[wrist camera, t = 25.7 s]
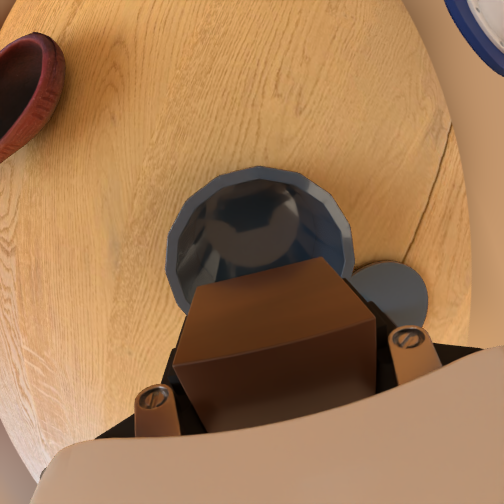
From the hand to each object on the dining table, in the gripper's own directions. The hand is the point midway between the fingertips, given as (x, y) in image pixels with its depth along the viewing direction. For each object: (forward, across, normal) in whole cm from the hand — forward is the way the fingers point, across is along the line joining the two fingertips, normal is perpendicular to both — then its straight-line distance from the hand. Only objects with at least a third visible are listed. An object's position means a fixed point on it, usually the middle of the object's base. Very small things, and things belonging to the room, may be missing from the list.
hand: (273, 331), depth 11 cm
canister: (+16, 0, 0) cm, 16 cm away
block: (0, 0, 0) cm, 0 cm away
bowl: (+17, +20, -20) cm, 33 cm away
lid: (+16, -11, +12) cm, 23 cm away
